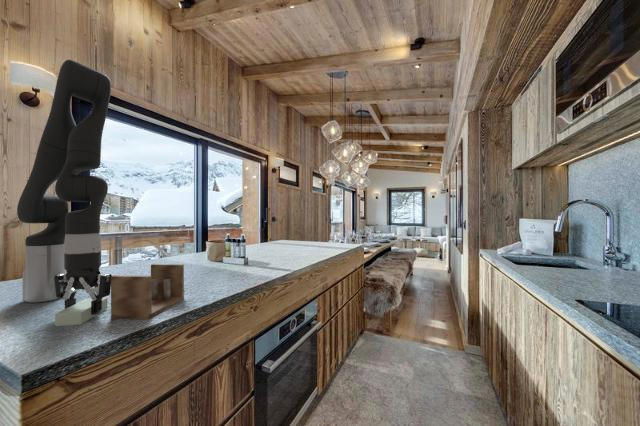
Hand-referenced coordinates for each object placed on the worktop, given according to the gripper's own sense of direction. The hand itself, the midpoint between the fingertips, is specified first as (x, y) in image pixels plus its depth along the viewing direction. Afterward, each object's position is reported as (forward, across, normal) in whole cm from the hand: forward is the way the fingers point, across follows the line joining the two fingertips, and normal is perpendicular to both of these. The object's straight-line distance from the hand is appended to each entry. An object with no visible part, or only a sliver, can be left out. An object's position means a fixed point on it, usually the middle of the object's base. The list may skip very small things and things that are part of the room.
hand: (83, 313), depth 75 cm
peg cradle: (+1, +14, +7) cm, 15 cm away
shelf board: (+1, 0, 0) cm, 1 cm away
